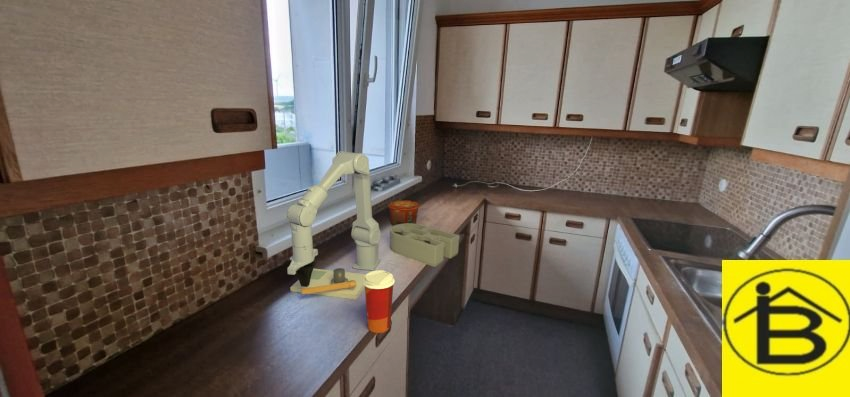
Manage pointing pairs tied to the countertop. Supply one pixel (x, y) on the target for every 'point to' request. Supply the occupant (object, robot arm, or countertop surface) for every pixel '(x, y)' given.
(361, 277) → the board
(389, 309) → the coffee cup
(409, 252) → the green compartment tray
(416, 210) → the food container
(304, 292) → the tan wooden rod
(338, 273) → the plug
